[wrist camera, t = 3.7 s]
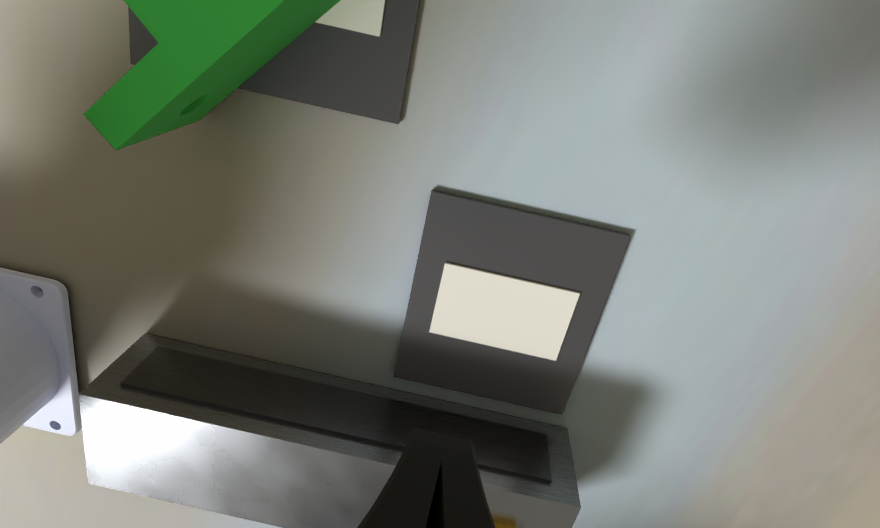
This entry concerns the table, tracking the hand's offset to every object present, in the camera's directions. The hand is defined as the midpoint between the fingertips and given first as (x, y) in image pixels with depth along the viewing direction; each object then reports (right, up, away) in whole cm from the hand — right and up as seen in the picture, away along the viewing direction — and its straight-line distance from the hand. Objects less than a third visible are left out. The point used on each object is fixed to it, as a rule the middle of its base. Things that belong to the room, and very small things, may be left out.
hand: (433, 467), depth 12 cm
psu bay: (-4, -2, +12) cm, 13 cm away
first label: (+2, +3, +9) cm, 9 cm away
